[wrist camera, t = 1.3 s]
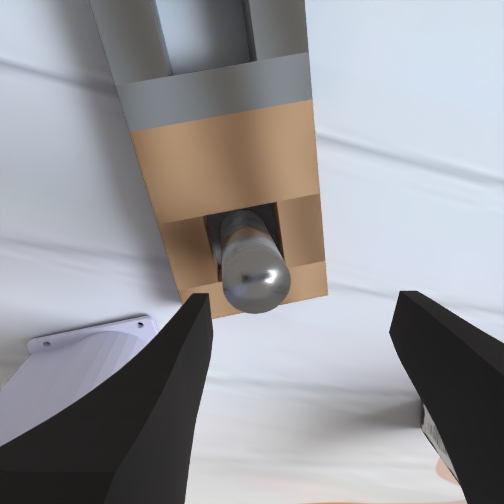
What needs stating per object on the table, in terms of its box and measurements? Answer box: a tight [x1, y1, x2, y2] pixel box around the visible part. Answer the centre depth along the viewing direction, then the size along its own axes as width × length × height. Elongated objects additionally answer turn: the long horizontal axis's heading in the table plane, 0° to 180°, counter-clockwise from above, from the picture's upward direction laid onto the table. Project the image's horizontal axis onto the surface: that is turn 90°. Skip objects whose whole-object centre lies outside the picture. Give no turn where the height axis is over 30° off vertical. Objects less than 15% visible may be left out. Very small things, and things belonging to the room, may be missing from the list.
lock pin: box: [221, 210, 291, 314], centre depth 17 cm, size 3×3×8 cm
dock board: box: [89, 0, 328, 319], centre depth 18 cm, size 10×22×2 cm, turn 10°
